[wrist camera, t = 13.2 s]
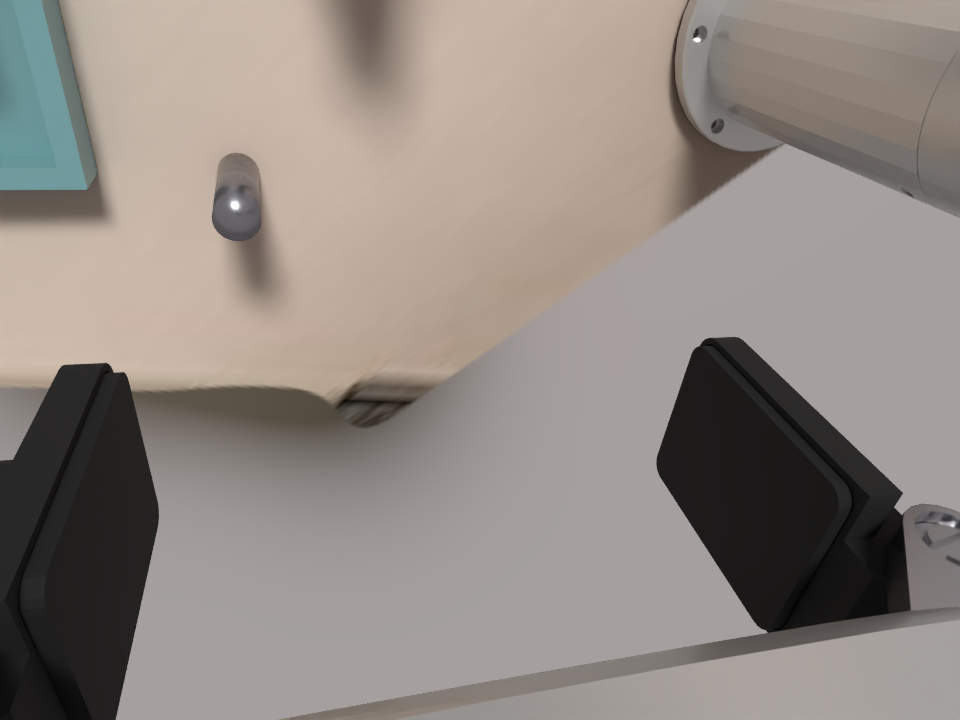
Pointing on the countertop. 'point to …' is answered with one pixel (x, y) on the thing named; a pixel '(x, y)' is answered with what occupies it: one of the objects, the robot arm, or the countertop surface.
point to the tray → (40, 103)
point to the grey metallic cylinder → (237, 198)
